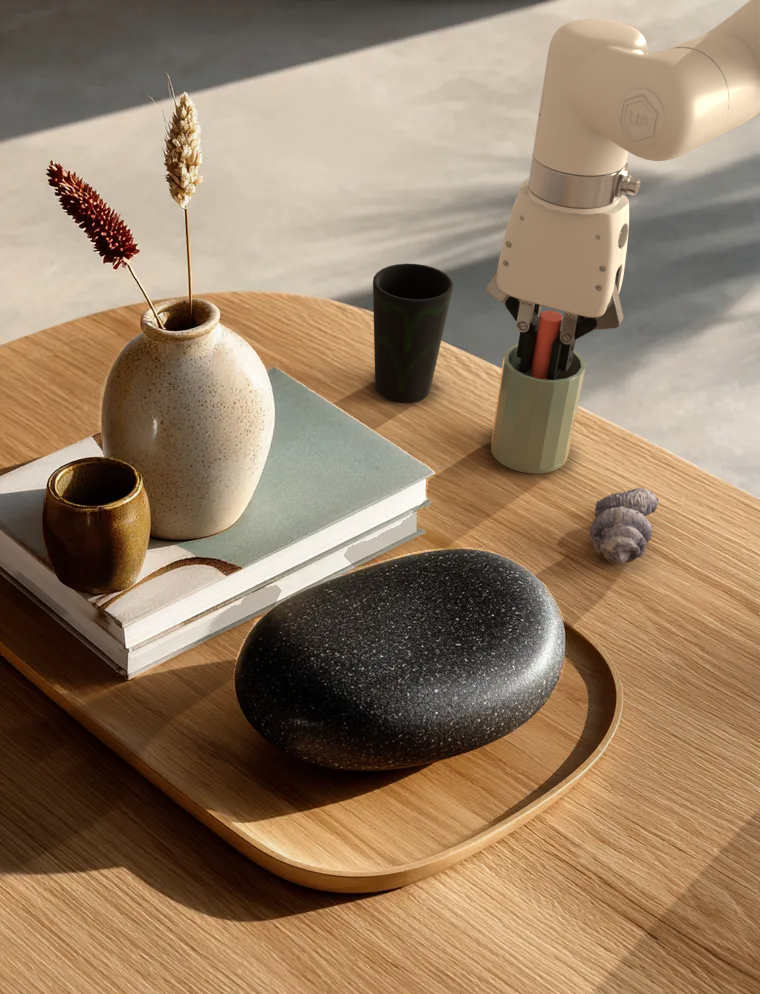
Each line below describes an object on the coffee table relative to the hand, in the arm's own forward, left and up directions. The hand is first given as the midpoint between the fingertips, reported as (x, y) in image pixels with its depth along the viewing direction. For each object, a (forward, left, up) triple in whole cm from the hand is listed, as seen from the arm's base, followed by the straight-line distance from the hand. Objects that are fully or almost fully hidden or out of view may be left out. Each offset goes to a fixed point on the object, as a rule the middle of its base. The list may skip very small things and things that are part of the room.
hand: (542, 368), depth 121 cm
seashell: (-12, +9, -9) cm, 18 cm away
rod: (0, 0, -9) cm, 9 cm away
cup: (+15, -4, -9) cm, 18 cm away
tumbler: (0, 0, -9) cm, 9 cm away
